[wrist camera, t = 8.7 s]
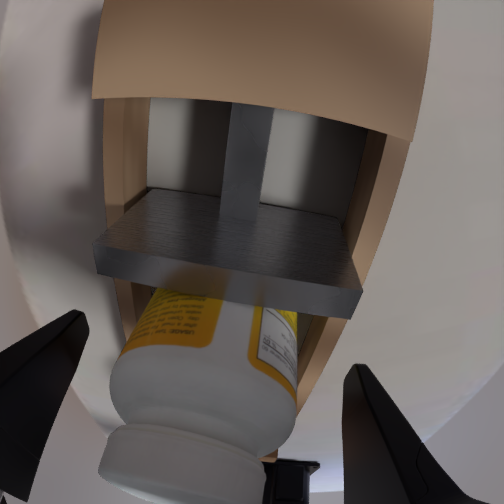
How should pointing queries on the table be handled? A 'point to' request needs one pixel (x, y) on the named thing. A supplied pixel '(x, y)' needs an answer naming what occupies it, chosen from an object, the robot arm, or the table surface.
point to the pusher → (235, 239)
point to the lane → (266, 101)
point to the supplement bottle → (201, 400)
